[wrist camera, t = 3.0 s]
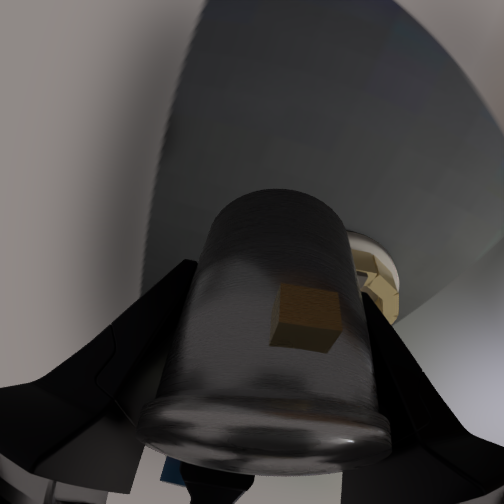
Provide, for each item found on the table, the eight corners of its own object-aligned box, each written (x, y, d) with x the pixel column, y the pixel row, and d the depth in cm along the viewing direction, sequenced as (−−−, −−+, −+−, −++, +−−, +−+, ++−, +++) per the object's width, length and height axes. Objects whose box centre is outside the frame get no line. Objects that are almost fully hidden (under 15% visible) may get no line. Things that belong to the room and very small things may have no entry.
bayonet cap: (321, 318, 12) (324, 478, 7) (199, 296, 12) (156, 458, 7) (382, 193, 8) (466, 418, 3) (209, 154, 8) (92, 385, 3)
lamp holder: (361, 333, 26) (366, 365, 24) (250, 317, 26) (246, 351, 23) (418, 248, 19) (434, 282, 17) (277, 215, 19) (275, 250, 16)
